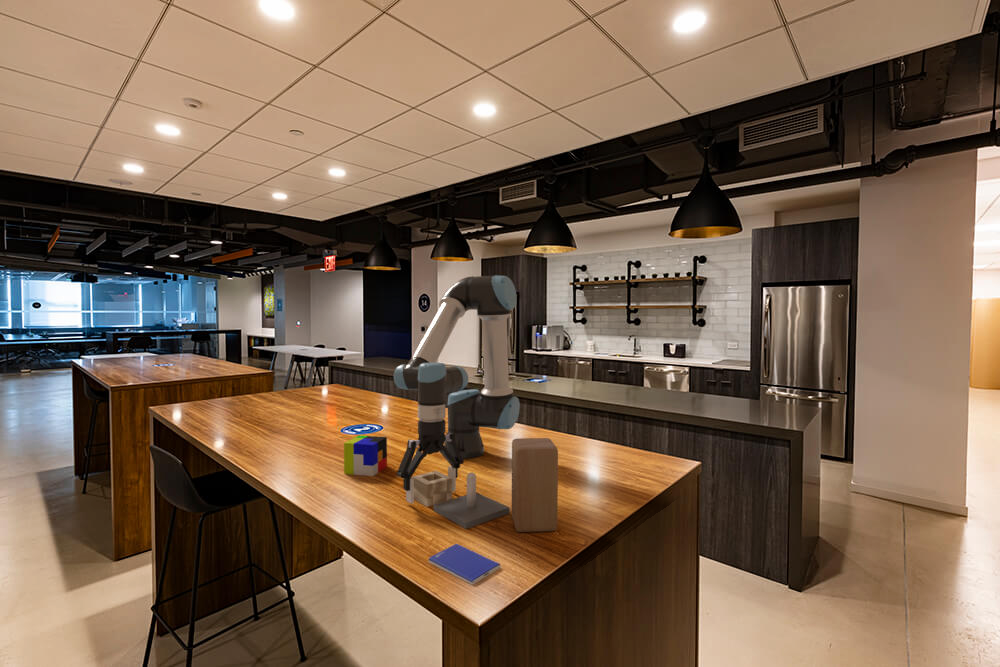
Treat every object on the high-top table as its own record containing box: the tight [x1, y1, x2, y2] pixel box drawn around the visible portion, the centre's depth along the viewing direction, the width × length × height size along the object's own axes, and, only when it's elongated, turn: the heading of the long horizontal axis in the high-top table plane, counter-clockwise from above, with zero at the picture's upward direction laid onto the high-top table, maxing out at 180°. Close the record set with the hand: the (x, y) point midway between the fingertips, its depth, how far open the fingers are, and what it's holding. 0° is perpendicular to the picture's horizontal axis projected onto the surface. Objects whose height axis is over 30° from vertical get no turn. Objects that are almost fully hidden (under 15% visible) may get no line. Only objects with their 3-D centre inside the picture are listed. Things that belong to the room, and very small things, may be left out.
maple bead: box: [411, 470, 453, 508], centre depth 130 cm, size 8×8×6 cm
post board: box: [432, 472, 511, 530], centre depth 121 cm, size 14×14×10 cm
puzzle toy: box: [343, 434, 388, 477], centre depth 155 cm, size 10×10×10 cm
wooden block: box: [511, 437, 559, 533], centre depth 114 cm, size 10×10×20 cm
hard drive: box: [428, 543, 501, 586], centre depth 96 cm, size 2×8×12 cm
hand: (431, 495), depth 130 cm, fingers open, 13 cm apart
